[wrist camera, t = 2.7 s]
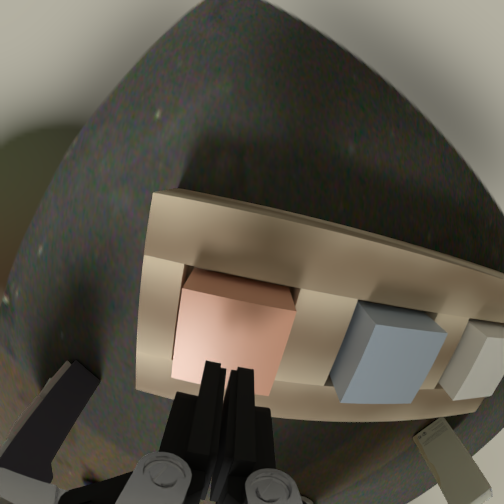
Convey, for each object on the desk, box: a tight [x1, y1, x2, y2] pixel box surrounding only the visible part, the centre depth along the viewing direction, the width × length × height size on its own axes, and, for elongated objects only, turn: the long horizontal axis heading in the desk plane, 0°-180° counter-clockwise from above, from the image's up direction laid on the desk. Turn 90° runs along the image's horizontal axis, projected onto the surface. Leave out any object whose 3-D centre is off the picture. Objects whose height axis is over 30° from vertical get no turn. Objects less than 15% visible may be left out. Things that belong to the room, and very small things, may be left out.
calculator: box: [0, 360, 100, 484], centre depth 15 cm, size 11×4×15 cm, turn 136°
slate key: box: [329, 300, 448, 404], centre depth 15 cm, size 5×5×3 cm
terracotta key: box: [171, 267, 297, 396], centre depth 15 cm, size 5×5×3 cm
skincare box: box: [413, 417, 492, 504], centre depth 19 cm, size 6×4×12 cm
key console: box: [136, 188, 504, 422], centre depth 18 cm, size 12×28×5 cm, turn 77°
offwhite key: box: [438, 319, 504, 401], centre depth 16 cm, size 5×5×3 cm
